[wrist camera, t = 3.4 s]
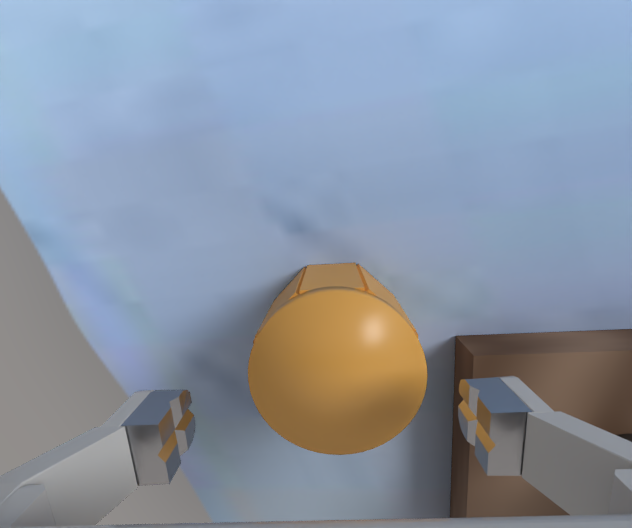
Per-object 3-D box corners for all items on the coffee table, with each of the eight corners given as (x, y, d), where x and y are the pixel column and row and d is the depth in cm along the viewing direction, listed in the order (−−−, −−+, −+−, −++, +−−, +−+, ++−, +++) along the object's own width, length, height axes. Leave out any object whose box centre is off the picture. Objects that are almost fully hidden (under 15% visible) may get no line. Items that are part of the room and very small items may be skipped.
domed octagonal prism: (396, 258, 15) (428, 288, 10) (397, 375, 16) (426, 453, 11) (267, 265, 15) (238, 297, 10) (278, 379, 17) (257, 456, 12)
